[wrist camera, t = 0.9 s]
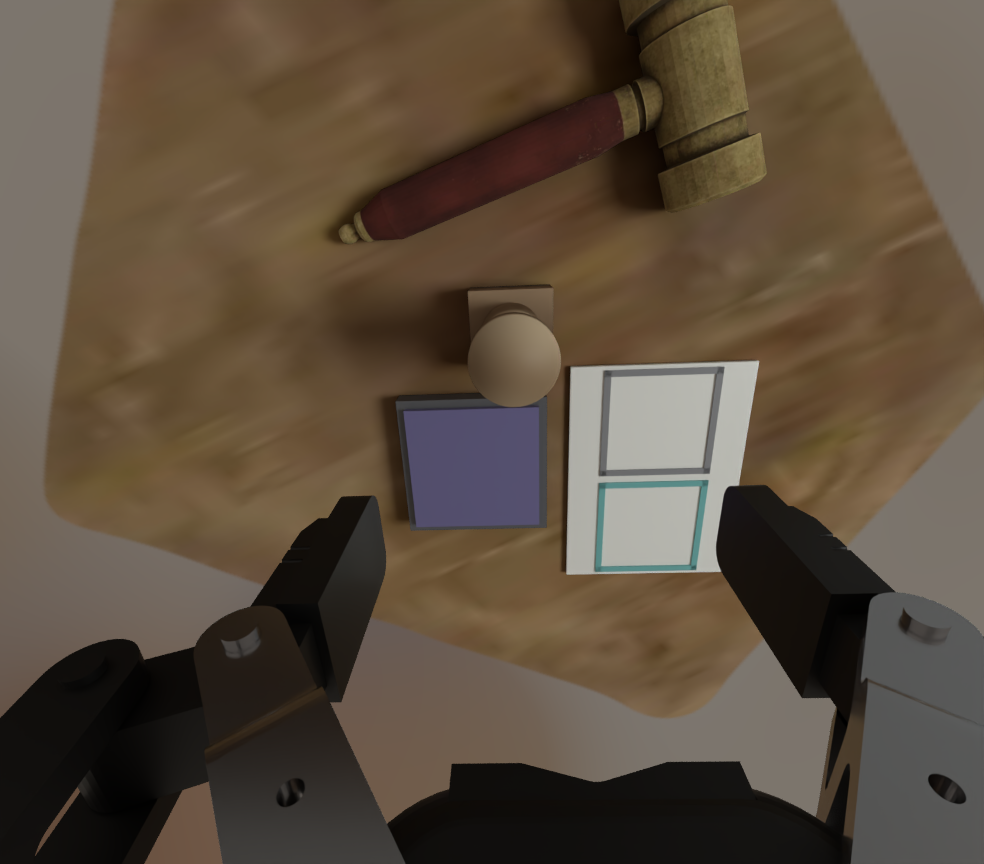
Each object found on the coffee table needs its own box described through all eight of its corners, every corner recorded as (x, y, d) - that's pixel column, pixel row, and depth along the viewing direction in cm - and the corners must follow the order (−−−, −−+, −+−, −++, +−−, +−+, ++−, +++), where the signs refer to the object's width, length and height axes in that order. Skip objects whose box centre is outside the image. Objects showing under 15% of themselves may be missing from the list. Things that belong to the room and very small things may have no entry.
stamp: (470, 287, 27) (455, 308, 19) (549, 284, 27) (570, 304, 19) (474, 365, 29) (462, 416, 21) (549, 362, 29) (568, 413, 20)
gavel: (367, 333, 26) (272, 129, 22) (391, 318, 30) (314, 144, 26) (785, 172, 21) (746, -112, 18) (744, 181, 25) (706, -48, 22)
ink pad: (399, 395, 30) (394, 403, 28) (545, 390, 30) (547, 398, 28) (413, 520, 33) (409, 533, 32) (544, 517, 33) (547, 530, 31)
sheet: (570, 366, 29) (571, 367, 29) (756, 359, 29) (760, 361, 28) (566, 571, 34) (566, 575, 34) (722, 568, 34) (724, 572, 34)
